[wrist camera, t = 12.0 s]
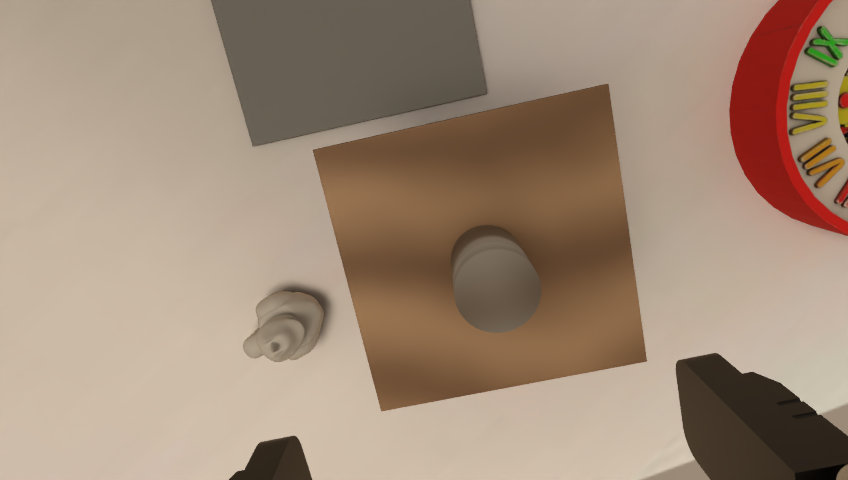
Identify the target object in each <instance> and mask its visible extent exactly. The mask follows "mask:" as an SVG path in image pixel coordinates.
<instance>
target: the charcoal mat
mask: <svg viewBox="0 0 848 480" xmlns="http://www.w3.org/2000/svg"><path fill="white" fill-rule="evenodd" d="M211 2H212V5H213V9H214V12H215V16H216V19H217V23H218V26H219V30H220V33H221V37H222V40H223V44H224V47H225V51H226V54H227V58H228V61H229V65H230V68H231V72H232V75H233V79H234V82H235V86H236V89H237V93H238V96H239V100H240V103H241V107H242V110H243V114H244V117H245V121H246V124H247V128H248V131H249V135H250V138H251V142H252V145H253V146H257V145H262V144H266V143H271V142H275V141H279V140H284V139H288V138H293V137H297V136H302V135H306V134H310V133H315V132H319V131H324V130H328V129H333V128H337V127H341V126H346V125H350V124H355V123H359V122H363V121H368V120H372V119H377V118H381V117H386V116H390V115H394V114H399V113H403V112H408V111H412V110H417V109H421V108H425V107H430V106H434V105H439V104H443V103H448V102H452V101H456V100H461V99H465V98H470V97H474V96H479V95H483V94H487V90H486V85H485V79H484V74H483V69H482V63H481V58H480V53H479V47H478V42H477V37H476V31H475V26H474V20H473V15H472V10H471V4H470V0H211Z"/></svg>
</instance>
